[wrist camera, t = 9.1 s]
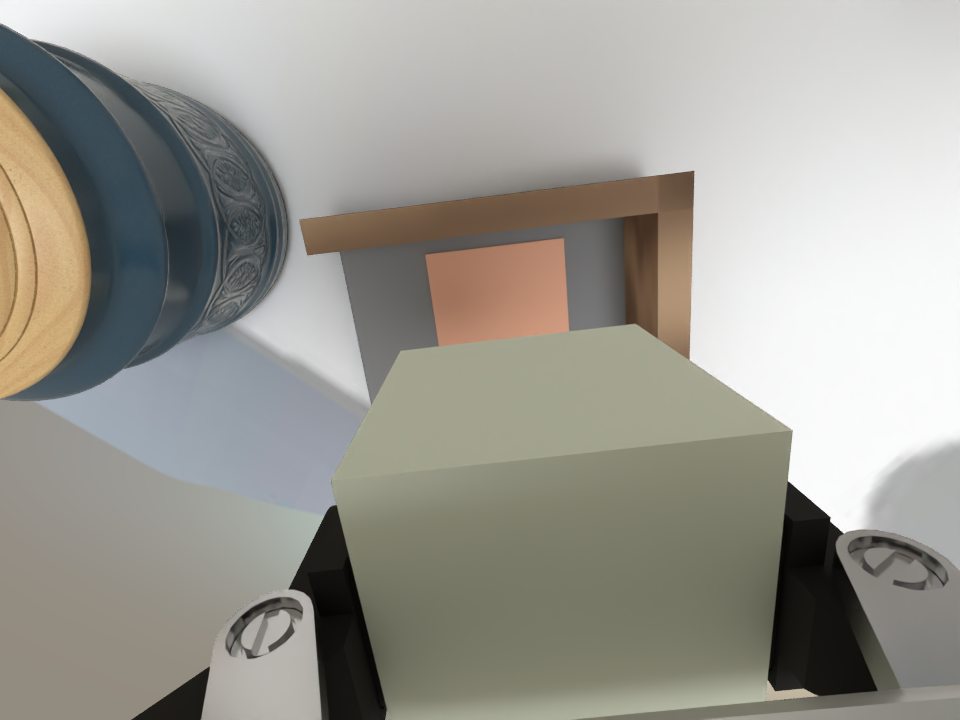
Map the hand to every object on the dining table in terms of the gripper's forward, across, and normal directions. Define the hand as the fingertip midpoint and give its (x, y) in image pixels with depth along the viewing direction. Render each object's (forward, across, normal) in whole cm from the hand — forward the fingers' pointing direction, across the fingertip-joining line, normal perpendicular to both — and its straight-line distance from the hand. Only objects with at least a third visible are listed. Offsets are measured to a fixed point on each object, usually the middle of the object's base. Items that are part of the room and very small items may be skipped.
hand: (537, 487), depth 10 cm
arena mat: (+19, 0, +2) cm, 19 cm away
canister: (+19, +18, -8) cm, 27 cm away
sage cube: (+2, 0, 0) cm, 2 cm away
